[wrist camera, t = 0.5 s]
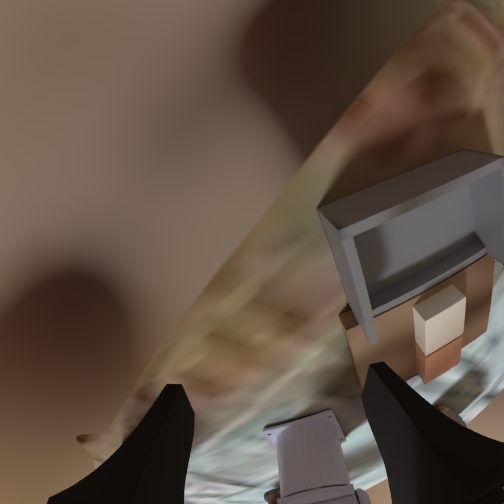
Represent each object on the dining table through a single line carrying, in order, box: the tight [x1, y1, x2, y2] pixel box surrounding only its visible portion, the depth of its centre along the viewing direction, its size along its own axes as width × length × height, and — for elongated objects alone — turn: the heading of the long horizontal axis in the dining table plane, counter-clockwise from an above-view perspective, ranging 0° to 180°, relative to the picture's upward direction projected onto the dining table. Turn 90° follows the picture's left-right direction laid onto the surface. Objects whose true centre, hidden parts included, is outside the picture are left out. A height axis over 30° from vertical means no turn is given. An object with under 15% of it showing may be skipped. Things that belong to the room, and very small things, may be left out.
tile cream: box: [413, 284, 466, 356], centre depth 17 cm, size 4×4×2 cm
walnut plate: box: [339, 253, 494, 391], centre depth 20 cm, size 10×15×2 cm, turn 114°
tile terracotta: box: [415, 334, 463, 384], centre depth 19 cm, size 4×4×2 cm
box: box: [317, 149, 504, 345], centre depth 15 cm, size 8×13×4 cm, turn 114°
